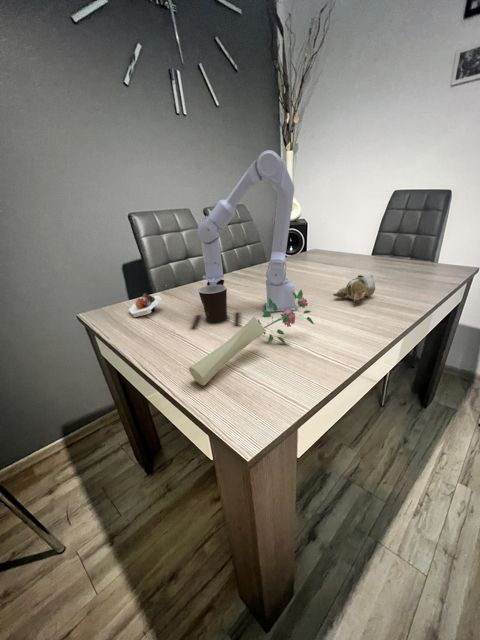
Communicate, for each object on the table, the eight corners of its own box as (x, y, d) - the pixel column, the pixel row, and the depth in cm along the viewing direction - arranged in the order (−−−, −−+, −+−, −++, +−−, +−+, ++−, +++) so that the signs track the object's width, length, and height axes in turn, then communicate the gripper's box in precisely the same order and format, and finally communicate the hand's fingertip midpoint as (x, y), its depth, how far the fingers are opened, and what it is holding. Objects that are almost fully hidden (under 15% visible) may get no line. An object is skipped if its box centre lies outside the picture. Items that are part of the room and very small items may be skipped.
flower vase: (203, 401, 64) (290, 323, 82) (232, 413, 55) (323, 321, 73) (176, 361, 59) (274, 287, 77) (203, 367, 50) (308, 281, 68)
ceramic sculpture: (386, 272, 94) (357, 284, 87) (382, 296, 98) (355, 309, 91) (360, 268, 101) (332, 278, 95) (358, 290, 106) (331, 301, 99)
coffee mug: (226, 324, 84) (222, 293, 79) (200, 324, 86) (194, 293, 81) (235, 310, 94) (231, 281, 89) (211, 310, 95) (206, 282, 90)
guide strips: (238, 313, 92) (238, 312, 92) (238, 325, 83) (238, 324, 83) (197, 316, 91) (196, 315, 91) (192, 328, 83) (192, 327, 83)
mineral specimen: (171, 305, 96) (160, 287, 92) (145, 325, 91) (132, 307, 87) (156, 301, 104) (145, 284, 100) (131, 319, 99) (118, 303, 95)
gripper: (203, 258, 95) (209, 296, 102) (197, 267, 83) (204, 310, 89) (223, 257, 95) (227, 294, 102) (220, 266, 83) (225, 308, 90)
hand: (218, 301), depth 96 cm, fingers closed
